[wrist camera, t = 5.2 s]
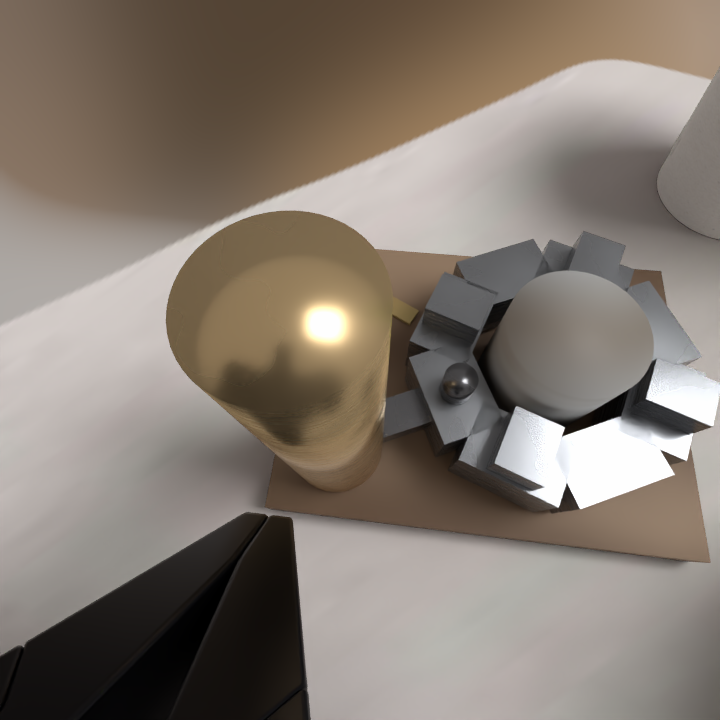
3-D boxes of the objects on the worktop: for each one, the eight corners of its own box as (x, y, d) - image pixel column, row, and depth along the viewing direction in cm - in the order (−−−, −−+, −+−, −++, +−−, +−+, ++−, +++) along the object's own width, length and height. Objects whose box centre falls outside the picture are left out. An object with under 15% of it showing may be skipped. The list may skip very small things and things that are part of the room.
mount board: (689, 561, 15) (849, 571, 10) (271, 508, 16) (223, 494, 11) (647, 284, 19) (743, 192, 14) (317, 258, 20) (298, 164, 15)
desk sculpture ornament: (708, 456, 15) (1259, 315, 6) (329, 595, 14) (231, 709, 4) (579, 253, 18) (790, -46, 9) (264, 350, 17) (130, 120, 8)
